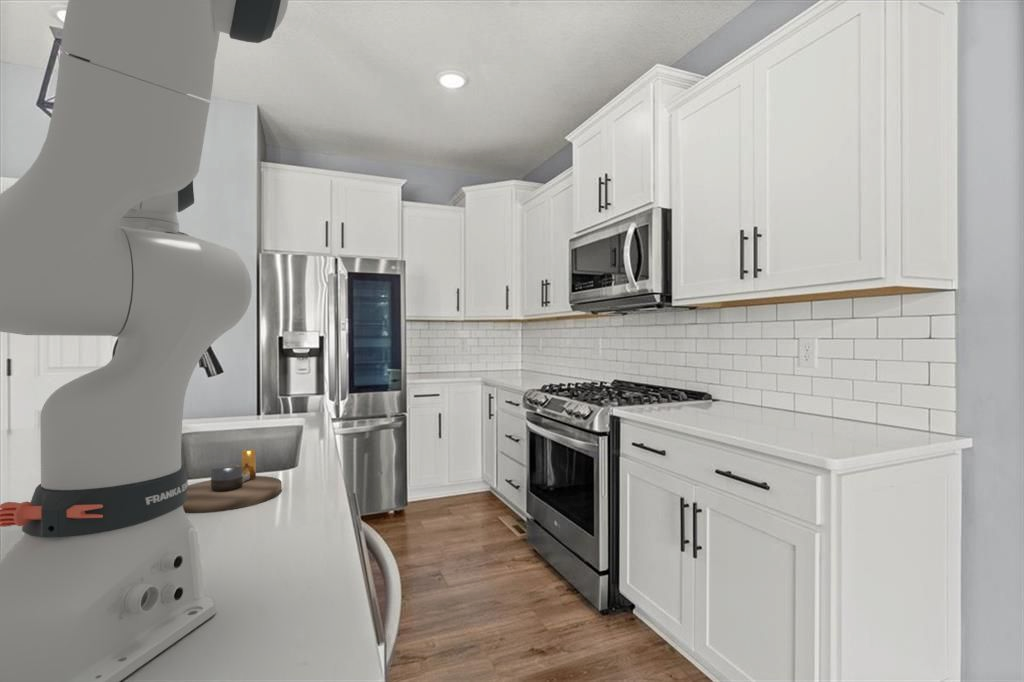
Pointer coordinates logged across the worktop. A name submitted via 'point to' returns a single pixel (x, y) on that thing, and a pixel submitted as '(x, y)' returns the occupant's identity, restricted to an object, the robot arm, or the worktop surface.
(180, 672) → the worktop surface
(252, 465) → the dial pointer
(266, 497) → the dial plate
